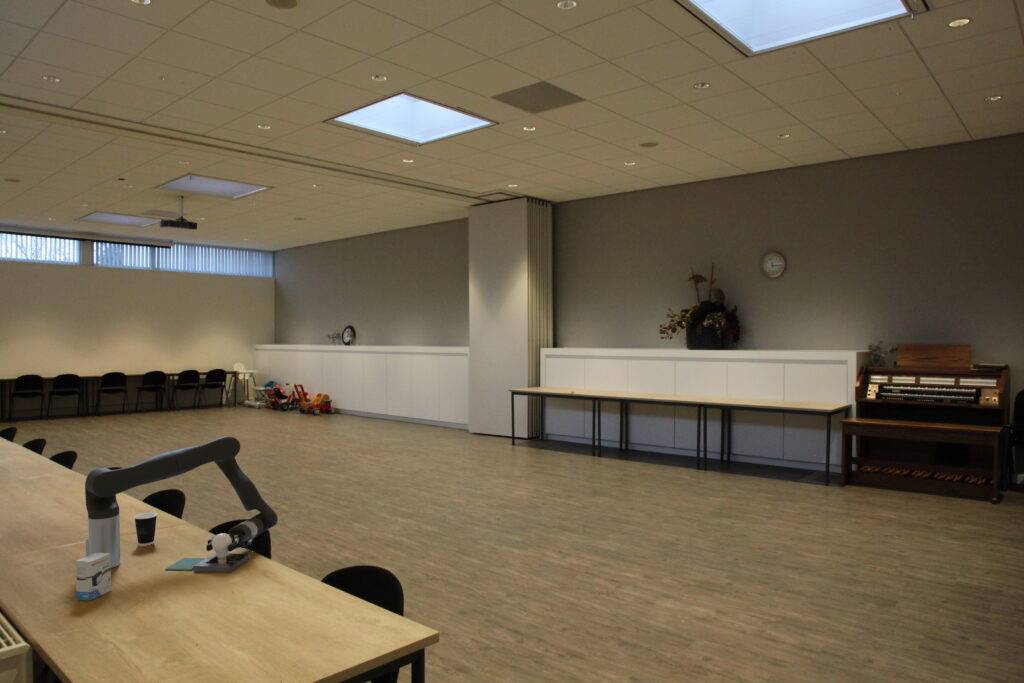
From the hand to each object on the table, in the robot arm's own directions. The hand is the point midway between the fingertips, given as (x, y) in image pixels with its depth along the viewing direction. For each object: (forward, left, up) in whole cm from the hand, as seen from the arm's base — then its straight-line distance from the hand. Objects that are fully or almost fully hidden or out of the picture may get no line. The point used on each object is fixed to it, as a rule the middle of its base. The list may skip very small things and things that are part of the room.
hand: (218, 548), depth 231 cm
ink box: (-26, -26, -7) cm, 37 cm away
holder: (0, +2, -7) cm, 7 cm away
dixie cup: (-42, +23, -7) cm, 48 cm away
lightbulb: (0, +2, -7) cm, 7 cm away
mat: (-13, +2, -7) cm, 14 cm away
